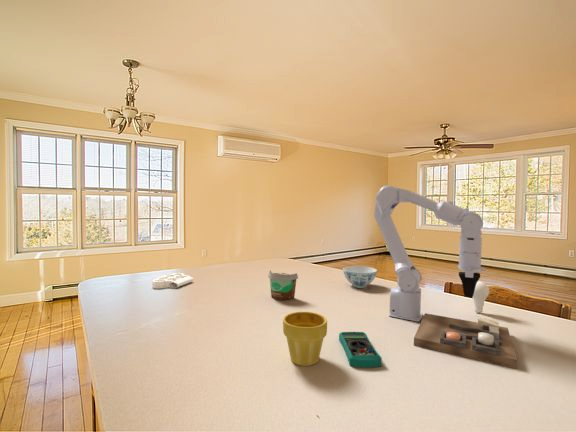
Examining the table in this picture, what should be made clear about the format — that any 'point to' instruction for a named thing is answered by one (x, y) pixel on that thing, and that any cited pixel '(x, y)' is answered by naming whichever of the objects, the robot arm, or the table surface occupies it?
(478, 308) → the lightbulb
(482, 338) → the cream egg shape
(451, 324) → the brown flat wooden tray
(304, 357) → the plant pot
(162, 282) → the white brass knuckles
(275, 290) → the food container
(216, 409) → the table surface
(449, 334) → the peach egg shape
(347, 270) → the chinaware
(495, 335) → the light grey small block
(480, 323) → the block
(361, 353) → the digital multimeter
